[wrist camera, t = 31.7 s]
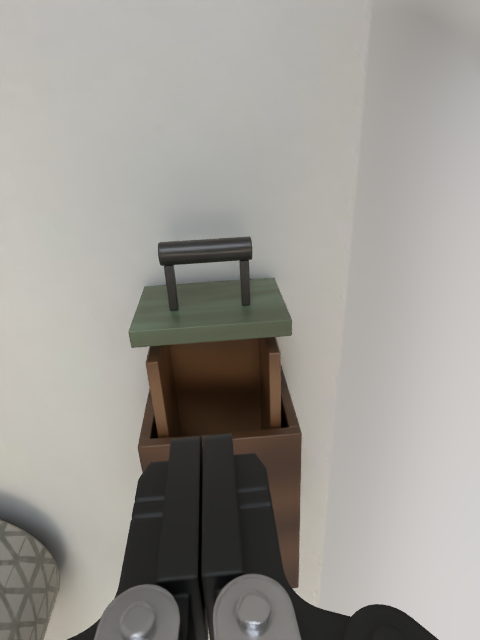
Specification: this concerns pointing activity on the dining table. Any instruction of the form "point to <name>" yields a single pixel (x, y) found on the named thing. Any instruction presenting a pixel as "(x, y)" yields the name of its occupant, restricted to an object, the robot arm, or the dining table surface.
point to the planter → (25, 585)
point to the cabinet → (276, 455)
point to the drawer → (212, 344)
